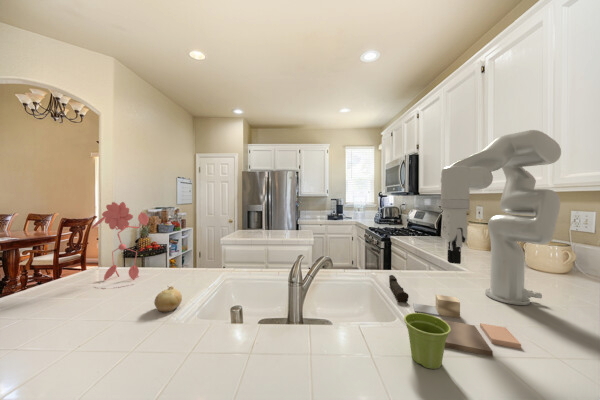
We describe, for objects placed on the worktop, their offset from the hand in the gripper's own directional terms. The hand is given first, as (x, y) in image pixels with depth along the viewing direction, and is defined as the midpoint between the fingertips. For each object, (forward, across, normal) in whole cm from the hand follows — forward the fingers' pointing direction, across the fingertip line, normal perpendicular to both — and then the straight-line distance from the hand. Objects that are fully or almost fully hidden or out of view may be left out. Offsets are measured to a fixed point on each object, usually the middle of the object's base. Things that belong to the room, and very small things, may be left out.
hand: (453, 262), depth 73 cm
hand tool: (+18, -14, -16) cm, 28 cm away
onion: (+17, +27, -89) cm, 94 cm away
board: (+17, +13, -4) cm, 22 cm away
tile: (+17, +5, +8) cm, 19 cm away
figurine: (+17, +16, -131) cm, 133 cm away
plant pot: (+17, +25, -12) cm, 33 cm away
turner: (+17, -2, -5) cm, 18 cm away
